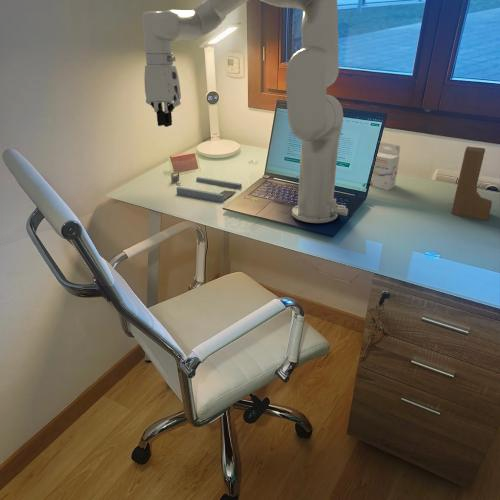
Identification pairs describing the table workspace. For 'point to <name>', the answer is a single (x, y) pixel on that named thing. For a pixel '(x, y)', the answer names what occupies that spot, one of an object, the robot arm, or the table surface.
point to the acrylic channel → (210, 195)
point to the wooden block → (471, 187)
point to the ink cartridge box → (385, 166)
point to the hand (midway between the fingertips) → (164, 125)
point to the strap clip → (175, 178)
